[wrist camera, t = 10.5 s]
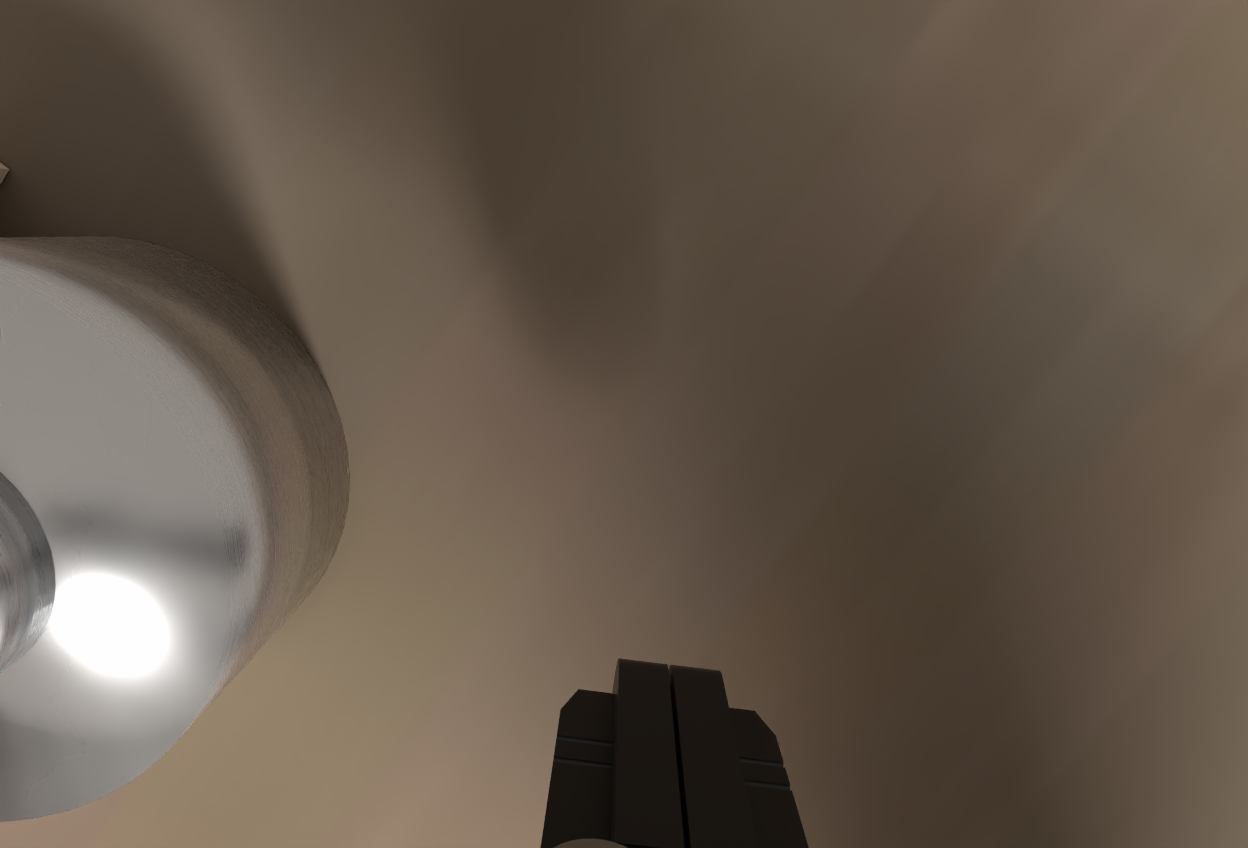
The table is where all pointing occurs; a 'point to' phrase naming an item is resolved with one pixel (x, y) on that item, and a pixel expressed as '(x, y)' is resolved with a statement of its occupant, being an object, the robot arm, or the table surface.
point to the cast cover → (144, 504)
